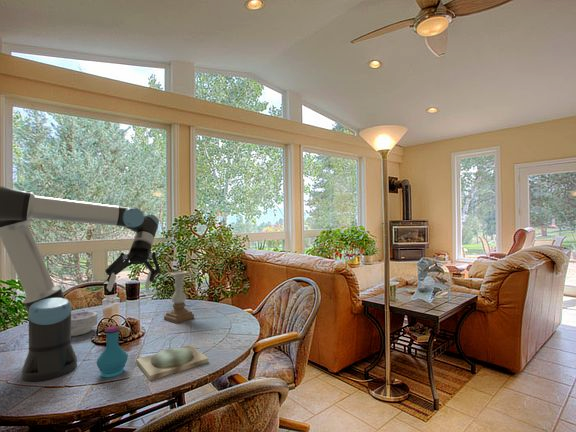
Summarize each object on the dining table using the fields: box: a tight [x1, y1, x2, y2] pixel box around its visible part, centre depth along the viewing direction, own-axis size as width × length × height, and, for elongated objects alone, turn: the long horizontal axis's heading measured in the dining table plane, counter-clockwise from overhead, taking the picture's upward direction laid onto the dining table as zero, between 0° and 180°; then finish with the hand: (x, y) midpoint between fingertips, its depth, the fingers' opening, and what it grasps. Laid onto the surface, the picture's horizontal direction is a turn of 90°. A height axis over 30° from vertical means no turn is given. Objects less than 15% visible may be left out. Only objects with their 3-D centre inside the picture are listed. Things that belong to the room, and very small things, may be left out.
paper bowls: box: [71, 310, 98, 337], centre depth 146 cm, size 15×15×8 cm
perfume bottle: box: [96, 325, 129, 378], centre depth 108 cm, size 9×9×15 cm
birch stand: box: [135, 344, 209, 381], centre depth 115 cm, size 20×16×2 cm
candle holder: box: [163, 270, 195, 324], centre depth 166 cm, size 11×11×24 cm
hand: (127, 289), depth 119 cm, fingers open, 13 cm apart
